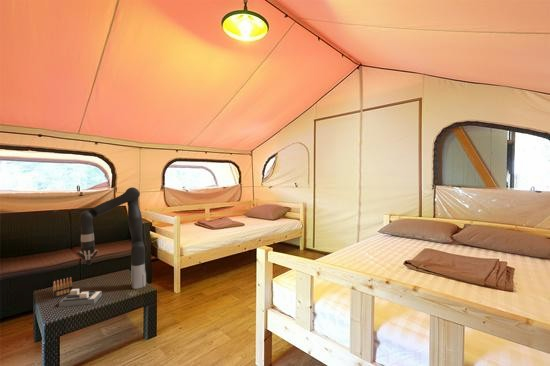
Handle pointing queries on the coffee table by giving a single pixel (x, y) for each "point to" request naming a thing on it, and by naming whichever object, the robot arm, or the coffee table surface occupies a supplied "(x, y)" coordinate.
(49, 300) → the coffee table surface
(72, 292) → the switch
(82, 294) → the switch
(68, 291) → the ammunition clip
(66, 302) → the switch panel
